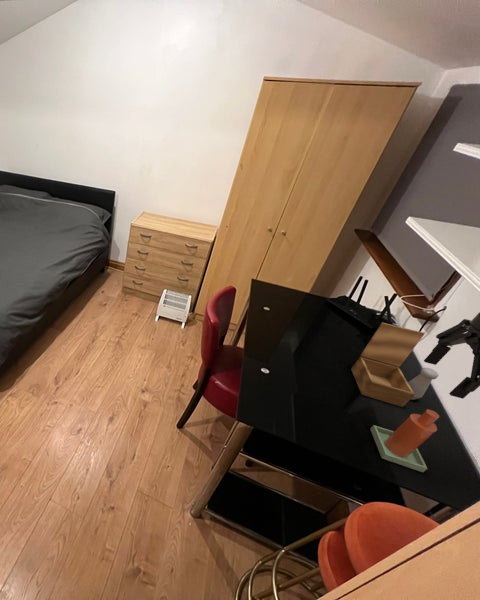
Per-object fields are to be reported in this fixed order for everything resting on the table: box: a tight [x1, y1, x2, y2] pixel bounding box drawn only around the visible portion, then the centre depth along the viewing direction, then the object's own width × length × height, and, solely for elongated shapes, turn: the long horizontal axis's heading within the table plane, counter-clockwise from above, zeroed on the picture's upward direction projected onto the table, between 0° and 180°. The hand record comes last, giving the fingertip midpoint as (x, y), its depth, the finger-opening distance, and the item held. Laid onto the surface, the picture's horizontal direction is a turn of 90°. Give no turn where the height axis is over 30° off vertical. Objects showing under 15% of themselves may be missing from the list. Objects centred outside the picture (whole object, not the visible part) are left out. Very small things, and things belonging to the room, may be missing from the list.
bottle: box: [384, 409, 440, 457], centre depth 95 cm, size 6×6×17 cm
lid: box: [360, 322, 425, 368], centre depth 120 cm, size 15×13×1 cm
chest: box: [350, 356, 415, 408], centre depth 120 cm, size 15×13×7 cm
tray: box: [369, 424, 428, 473], centre depth 100 cm, size 11×10×2 cm
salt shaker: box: [407, 367, 439, 401], centre depth 116 cm, size 6×6×13 cm
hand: (441, 378), depth 91 cm, fingers open, 13 cm apart
